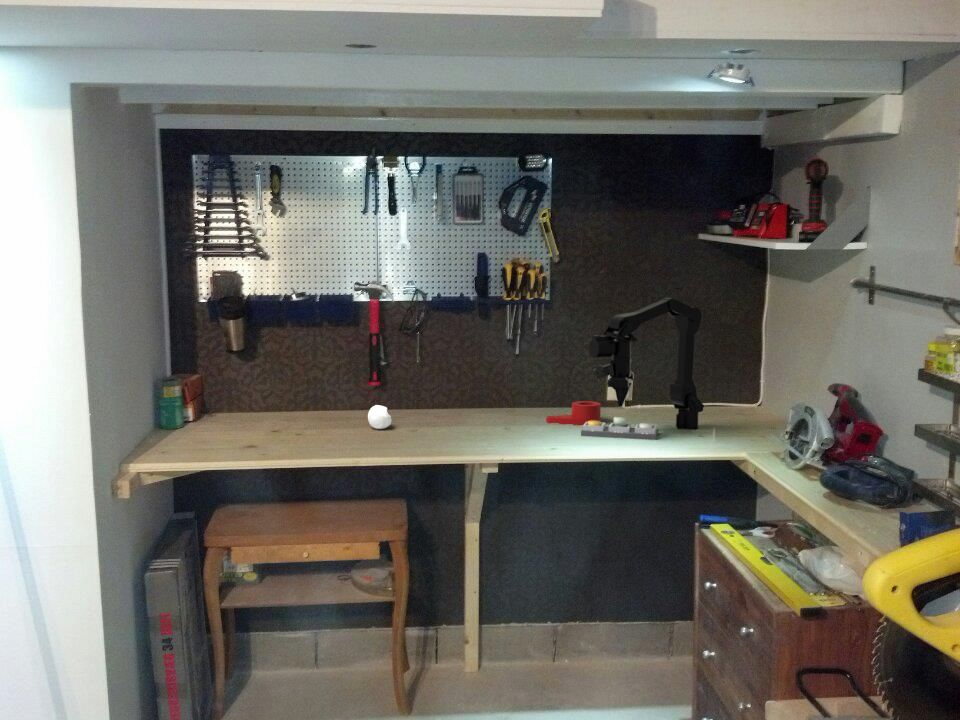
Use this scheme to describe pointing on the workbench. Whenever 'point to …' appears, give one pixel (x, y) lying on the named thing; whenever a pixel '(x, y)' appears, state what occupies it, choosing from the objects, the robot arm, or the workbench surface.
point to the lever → (578, 414)
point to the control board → (619, 431)
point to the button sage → (620, 421)
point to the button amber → (594, 423)
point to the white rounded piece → (379, 417)
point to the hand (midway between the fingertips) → (620, 406)
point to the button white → (645, 425)
